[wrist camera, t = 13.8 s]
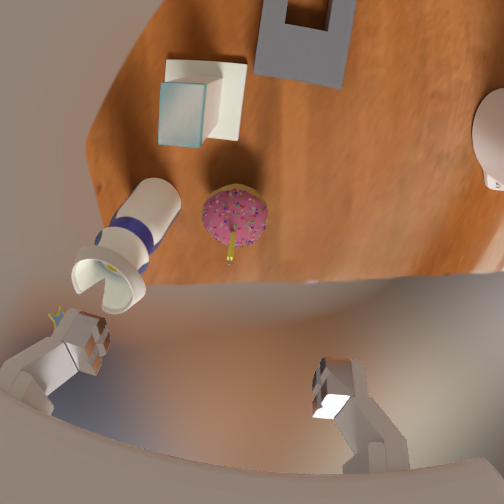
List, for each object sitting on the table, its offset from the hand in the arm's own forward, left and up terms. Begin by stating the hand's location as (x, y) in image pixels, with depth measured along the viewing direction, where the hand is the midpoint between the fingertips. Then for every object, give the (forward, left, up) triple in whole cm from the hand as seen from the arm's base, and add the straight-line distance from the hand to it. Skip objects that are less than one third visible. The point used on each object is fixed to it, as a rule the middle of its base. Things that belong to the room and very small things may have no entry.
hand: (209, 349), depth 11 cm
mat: (+7, -3, -34) cm, 35 cm away
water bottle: (+13, +13, -34) cm, 39 cm away
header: (-4, -17, -34) cm, 38 cm away
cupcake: (+1, +11, -34) cm, 36 cm away
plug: (+7, -3, -33) cm, 34 cm away
